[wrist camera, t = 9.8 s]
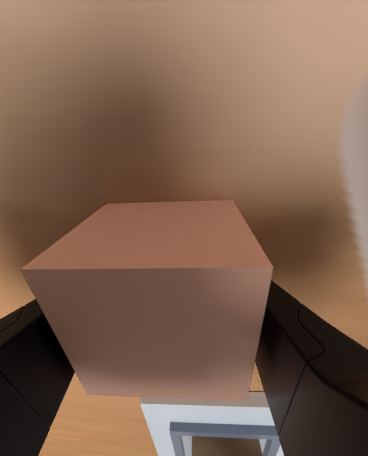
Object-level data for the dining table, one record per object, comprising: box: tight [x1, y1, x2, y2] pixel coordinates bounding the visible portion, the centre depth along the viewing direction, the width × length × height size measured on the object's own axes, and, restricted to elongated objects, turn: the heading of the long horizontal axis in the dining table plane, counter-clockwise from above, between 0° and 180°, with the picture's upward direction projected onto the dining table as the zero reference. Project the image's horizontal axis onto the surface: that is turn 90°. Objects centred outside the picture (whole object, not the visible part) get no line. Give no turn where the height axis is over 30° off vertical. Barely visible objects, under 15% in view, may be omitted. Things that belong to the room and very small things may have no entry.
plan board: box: [140, 392, 284, 456], centre depth 19 cm, size 14×16×2 cm
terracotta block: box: [20, 200, 273, 401], centre depth 8 cm, size 6×6×5 cm
